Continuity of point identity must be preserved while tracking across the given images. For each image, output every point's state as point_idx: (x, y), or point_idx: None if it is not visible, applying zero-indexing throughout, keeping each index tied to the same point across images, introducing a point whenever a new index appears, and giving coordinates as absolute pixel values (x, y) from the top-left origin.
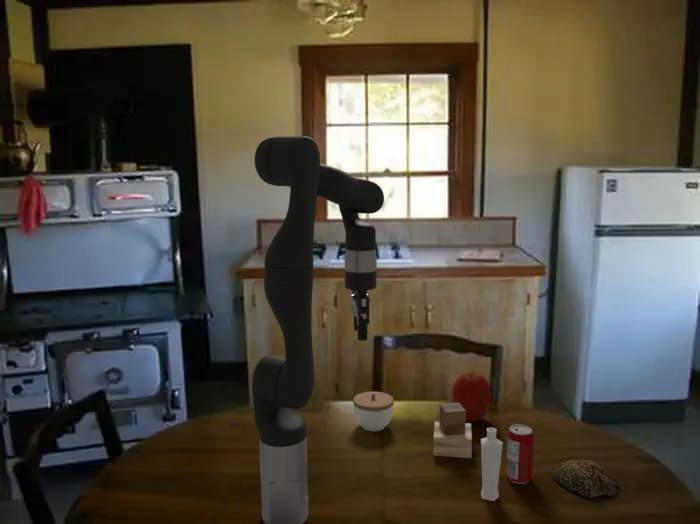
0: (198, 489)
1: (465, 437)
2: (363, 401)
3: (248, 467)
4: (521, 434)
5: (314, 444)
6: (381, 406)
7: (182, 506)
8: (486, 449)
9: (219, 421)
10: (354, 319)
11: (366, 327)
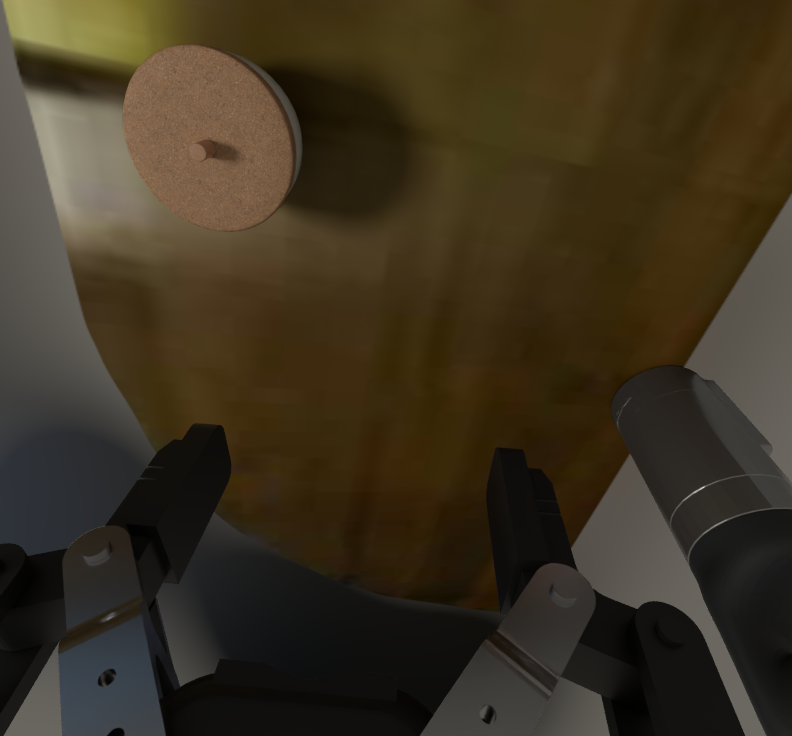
0: None
1: None
2: (241, 196)
3: (444, 448)
4: None
5: (359, 322)
6: (285, 126)
7: None
8: None
9: (230, 487)
10: (191, 552)
11: (543, 543)
